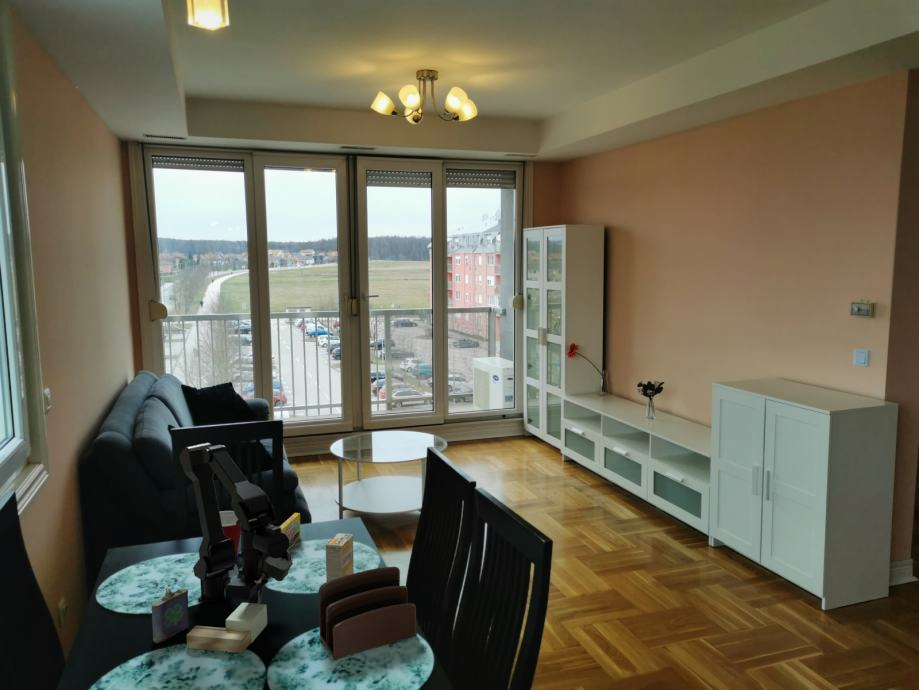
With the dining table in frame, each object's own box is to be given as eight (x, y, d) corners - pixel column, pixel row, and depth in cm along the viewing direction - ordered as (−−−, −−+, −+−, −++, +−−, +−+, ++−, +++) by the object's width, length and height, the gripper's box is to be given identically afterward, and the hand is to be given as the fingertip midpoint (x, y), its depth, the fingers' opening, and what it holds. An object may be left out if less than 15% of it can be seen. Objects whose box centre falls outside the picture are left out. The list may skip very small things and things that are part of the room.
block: (226, 640, 153) (225, 619, 152) (243, 622, 161) (242, 602, 160) (251, 643, 152) (250, 622, 151) (267, 624, 160) (266, 604, 159)
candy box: (279, 560, 195) (278, 532, 194) (272, 559, 195) (271, 532, 194) (301, 538, 211) (300, 512, 210) (294, 537, 211) (293, 512, 210)
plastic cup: (237, 565, 192) (235, 524, 190) (200, 563, 193) (198, 522, 191) (253, 549, 202) (251, 510, 201) (218, 547, 204) (216, 509, 202)
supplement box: (343, 595, 174) (342, 546, 172) (326, 593, 175) (324, 544, 173) (354, 580, 182) (353, 533, 181) (338, 578, 183) (336, 532, 181)
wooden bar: (187, 647, 150) (186, 634, 150) (197, 638, 154) (196, 625, 154) (242, 653, 148) (241, 639, 148) (250, 643, 152) (250, 629, 151)
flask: (157, 644, 151) (155, 599, 150) (149, 641, 153) (146, 596, 152) (192, 625, 159) (189, 582, 158) (183, 622, 161) (181, 579, 160)
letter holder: (319, 639, 154) (317, 580, 152) (399, 617, 163) (398, 561, 162) (333, 661, 145) (332, 599, 143) (417, 636, 155) (416, 577, 153)
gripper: (268, 565, 149) (271, 632, 151) (301, 532, 167) (303, 592, 169) (221, 562, 151) (224, 628, 153) (259, 529, 169) (261, 589, 171)
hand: (256, 608), depth 161 cm, fingers closed
